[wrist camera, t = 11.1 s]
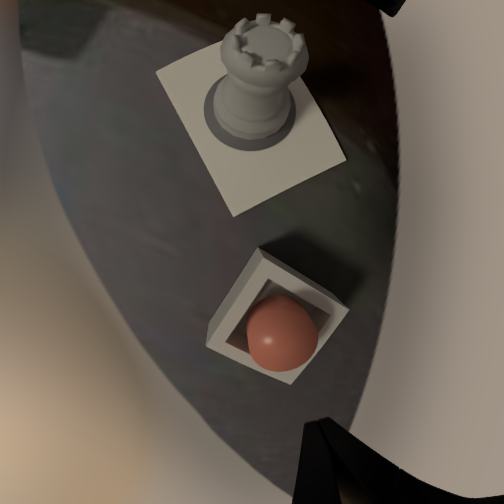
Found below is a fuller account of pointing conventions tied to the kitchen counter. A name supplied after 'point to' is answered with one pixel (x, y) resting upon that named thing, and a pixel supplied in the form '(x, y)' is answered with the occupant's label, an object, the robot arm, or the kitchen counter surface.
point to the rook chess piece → (258, 76)
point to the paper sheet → (242, 150)
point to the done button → (280, 333)
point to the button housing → (259, 287)
